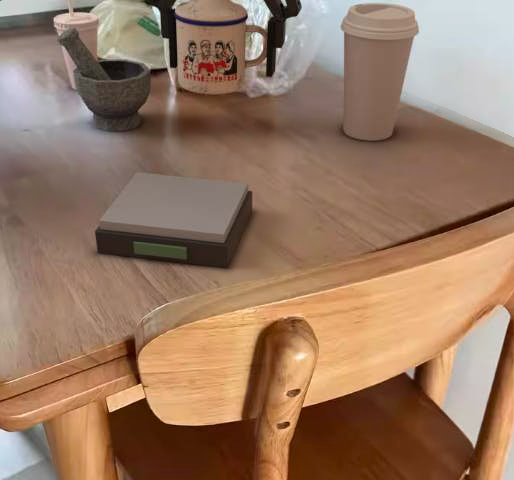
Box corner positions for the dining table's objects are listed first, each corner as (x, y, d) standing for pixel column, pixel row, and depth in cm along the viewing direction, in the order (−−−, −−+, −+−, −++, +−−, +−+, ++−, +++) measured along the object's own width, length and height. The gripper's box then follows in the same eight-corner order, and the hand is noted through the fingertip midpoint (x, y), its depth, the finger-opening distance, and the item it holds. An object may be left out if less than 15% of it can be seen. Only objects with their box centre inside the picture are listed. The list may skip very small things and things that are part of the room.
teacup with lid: (174, 95, 91) (171, -7, 84) (178, 72, 98) (175, -23, 91) (270, 97, 92) (274, -4, 85) (266, 74, 99) (270, -20, 92)
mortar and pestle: (154, 109, 102) (148, 18, 95) (152, 135, 95) (146, 38, 88) (73, 110, 102) (60, 18, 94) (65, 136, 94) (50, 38, 87)
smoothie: (63, 80, 112) (49, -21, 103) (105, 78, 113) (95, -22, 104) (62, 94, 107) (47, -11, 98) (106, 92, 108) (95, -11, 99)
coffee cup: (380, 115, 102) (395, -1, 93) (417, 139, 95) (437, 17, 86) (319, 123, 99) (328, 4, 90) (353, 149, 92) (366, 23, 83)
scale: (96, 254, 71) (92, 223, 69) (136, 199, 80) (134, 170, 78) (226, 270, 69) (226, 238, 67) (252, 211, 79) (252, 181, 77)
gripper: (335, -129, 82) (319, 69, 95) (129, -140, 85) (141, 53, 99) (327, -123, 76) (311, 87, 89) (107, -135, 79) (123, 69, 93)
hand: (222, 69), depth 94 cm, fingers closed on teacup with lid, 12 cm apart
